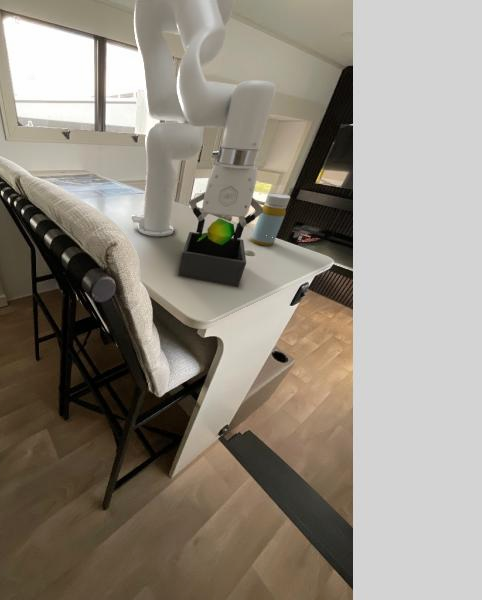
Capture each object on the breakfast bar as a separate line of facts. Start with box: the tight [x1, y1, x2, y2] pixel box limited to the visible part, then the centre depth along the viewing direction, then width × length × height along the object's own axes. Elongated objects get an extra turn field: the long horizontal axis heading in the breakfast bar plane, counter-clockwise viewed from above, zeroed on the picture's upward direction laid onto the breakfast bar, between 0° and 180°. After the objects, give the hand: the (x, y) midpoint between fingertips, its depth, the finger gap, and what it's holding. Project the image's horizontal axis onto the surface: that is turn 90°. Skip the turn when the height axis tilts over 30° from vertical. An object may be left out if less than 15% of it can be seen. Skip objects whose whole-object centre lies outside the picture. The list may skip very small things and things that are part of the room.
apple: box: [197, 217, 235, 245], centre depth 62 cm, size 7×6×9 cm
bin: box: [177, 231, 247, 288], centre depth 66 cm, size 15×15×7 cm
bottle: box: [251, 192, 291, 247], centre depth 80 cm, size 7×7×15 cm
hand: (217, 237), depth 63 cm, fingers closed on apple, 8 cm apart
